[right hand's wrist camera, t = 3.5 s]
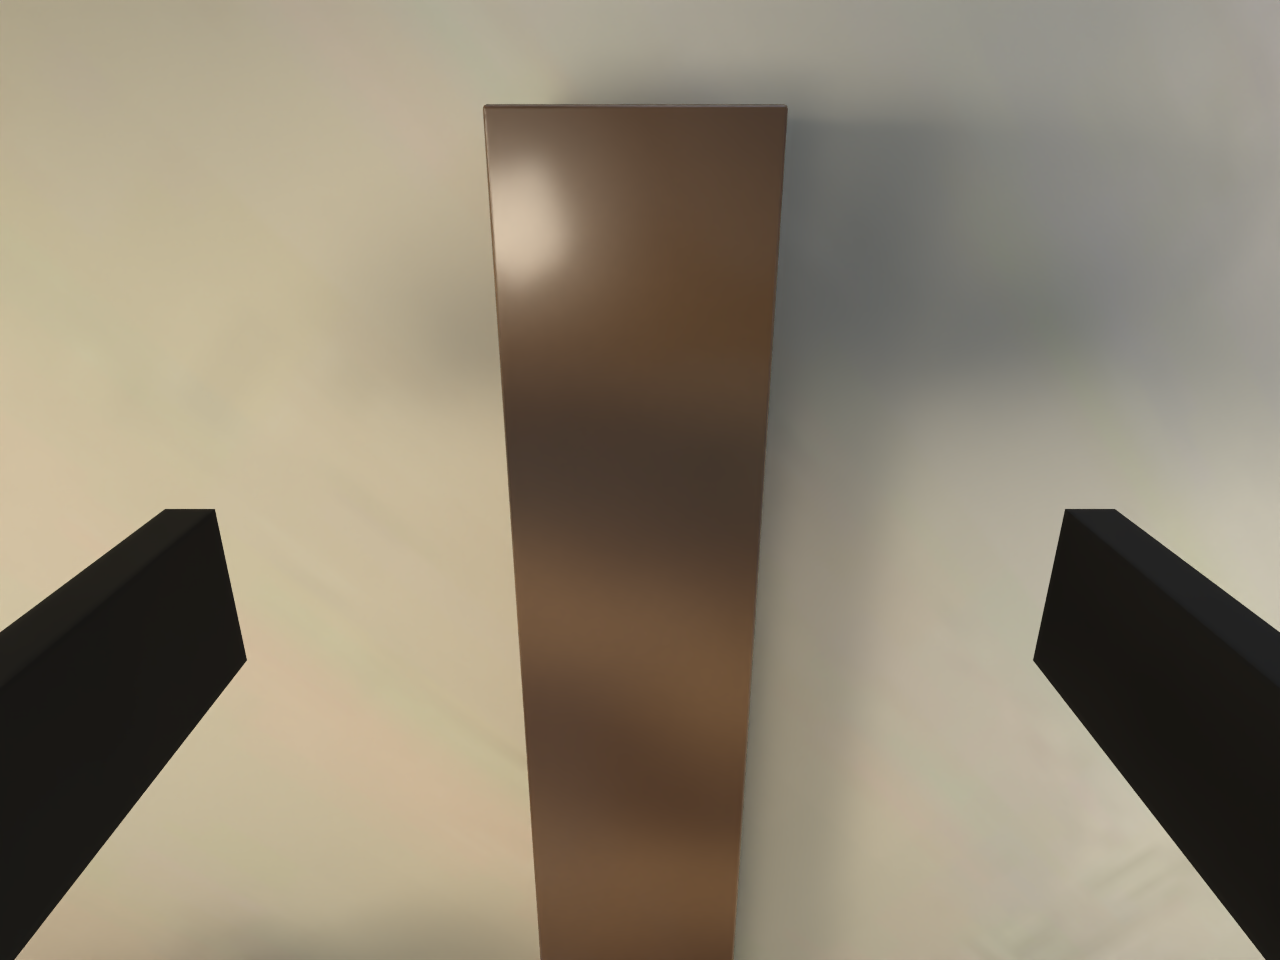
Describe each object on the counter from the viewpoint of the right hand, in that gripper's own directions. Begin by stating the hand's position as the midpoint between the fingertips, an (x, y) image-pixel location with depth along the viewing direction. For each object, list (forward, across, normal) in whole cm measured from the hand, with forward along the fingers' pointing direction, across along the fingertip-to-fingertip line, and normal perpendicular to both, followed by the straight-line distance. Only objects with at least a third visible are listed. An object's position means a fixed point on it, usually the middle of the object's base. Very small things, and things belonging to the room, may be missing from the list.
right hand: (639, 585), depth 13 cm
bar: (+13, 0, -31) cm, 33 cm away
